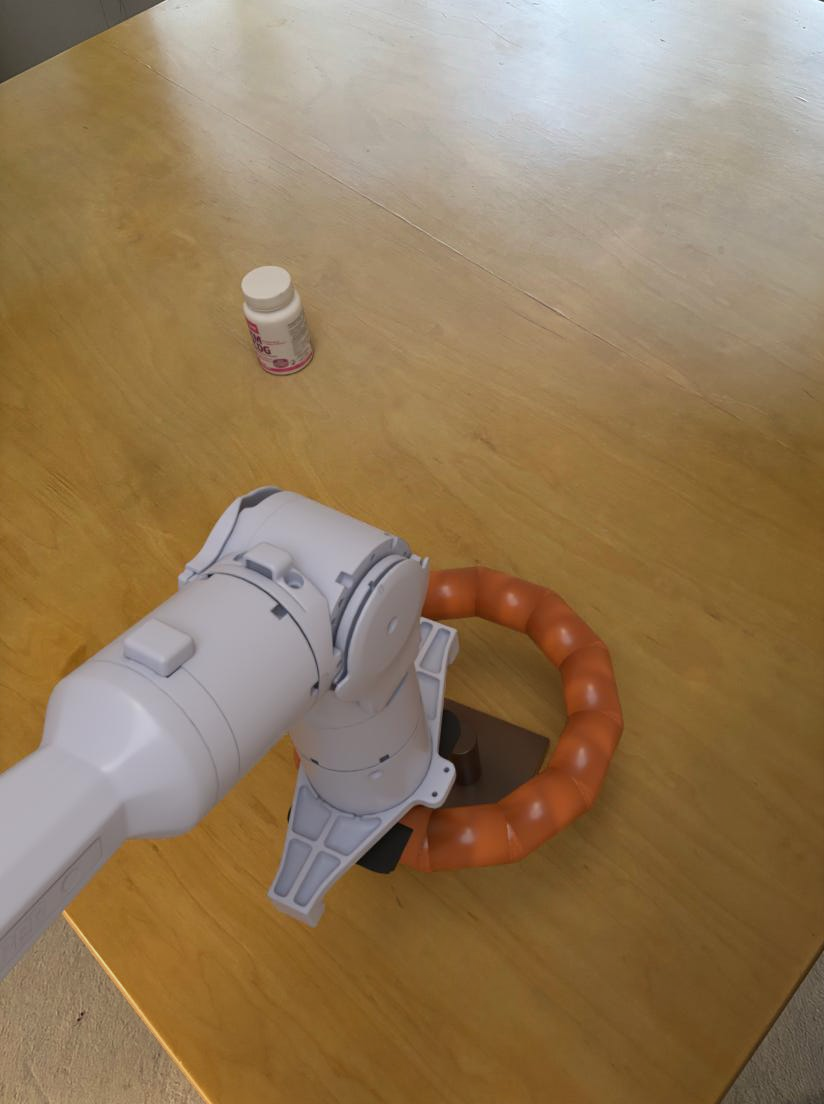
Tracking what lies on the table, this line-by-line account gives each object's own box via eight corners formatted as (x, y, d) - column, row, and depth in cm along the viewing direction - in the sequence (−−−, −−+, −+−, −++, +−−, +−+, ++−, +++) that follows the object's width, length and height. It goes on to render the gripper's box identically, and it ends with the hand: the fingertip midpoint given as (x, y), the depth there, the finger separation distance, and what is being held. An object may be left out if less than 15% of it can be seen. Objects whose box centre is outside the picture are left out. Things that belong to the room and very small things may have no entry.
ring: (544, 936, 53) (545, 915, 50) (237, 797, 58) (225, 772, 56) (660, 646, 63) (665, 617, 61) (391, 551, 69) (386, 522, 67)
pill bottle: (248, 369, 91) (224, 293, 84) (275, 332, 94) (254, 256, 87) (297, 382, 90) (277, 306, 83) (324, 344, 92) (306, 268, 86)
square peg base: (498, 862, 63) (494, 827, 59) (379, 810, 66) (367, 772, 61) (550, 745, 68) (549, 704, 63) (436, 700, 70) (428, 658, 66)
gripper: (354, 912, 40) (398, 1002, 50) (510, 600, 48) (520, 734, 58) (196, 837, 42) (270, 938, 52) (371, 551, 50) (405, 688, 60)
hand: (394, 827), depth 55 cm, fingers closed on ring, 3 cm apart
